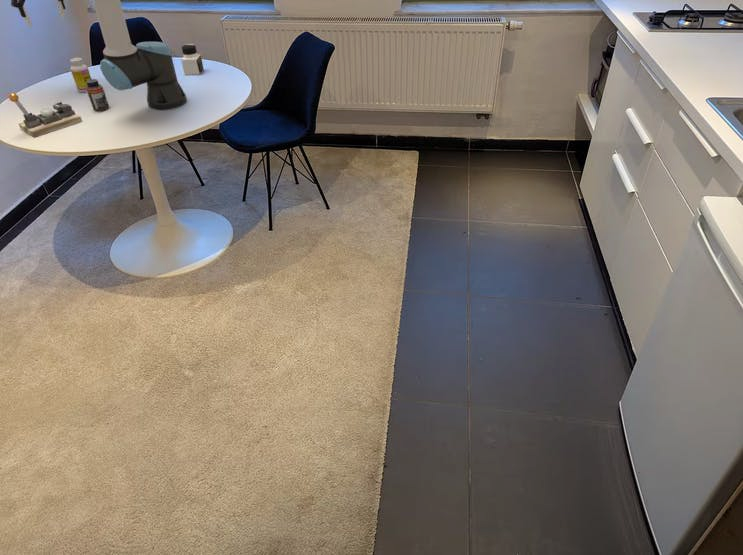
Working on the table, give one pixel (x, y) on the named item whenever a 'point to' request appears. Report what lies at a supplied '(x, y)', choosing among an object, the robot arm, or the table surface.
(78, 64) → the supplement bottle
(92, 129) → the table surface
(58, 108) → the rocker
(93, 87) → the supplement bottle
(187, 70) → the medicine bottle
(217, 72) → the table surface
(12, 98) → the lever
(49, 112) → the button
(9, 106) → the table surface
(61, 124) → the panel
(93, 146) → the table surface
